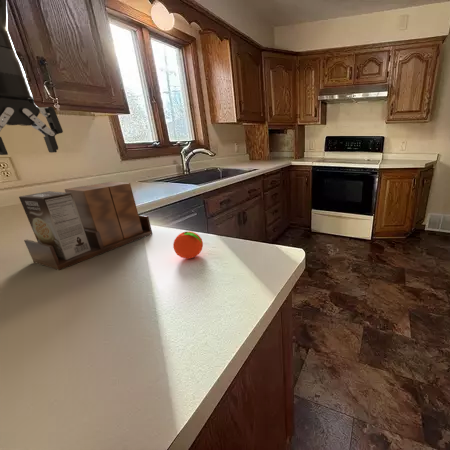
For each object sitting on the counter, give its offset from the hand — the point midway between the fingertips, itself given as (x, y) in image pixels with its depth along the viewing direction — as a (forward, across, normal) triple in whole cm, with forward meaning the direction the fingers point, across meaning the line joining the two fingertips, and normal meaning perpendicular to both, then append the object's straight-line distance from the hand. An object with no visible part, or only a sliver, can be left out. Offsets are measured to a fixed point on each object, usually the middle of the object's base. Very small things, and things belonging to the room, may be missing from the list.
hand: (29, 153), depth 57 cm
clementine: (+27, -12, +32) cm, 44 cm away
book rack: (+27, -7, 0) cm, 28 cm away
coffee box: (+26, 0, 0) cm, 26 cm away
